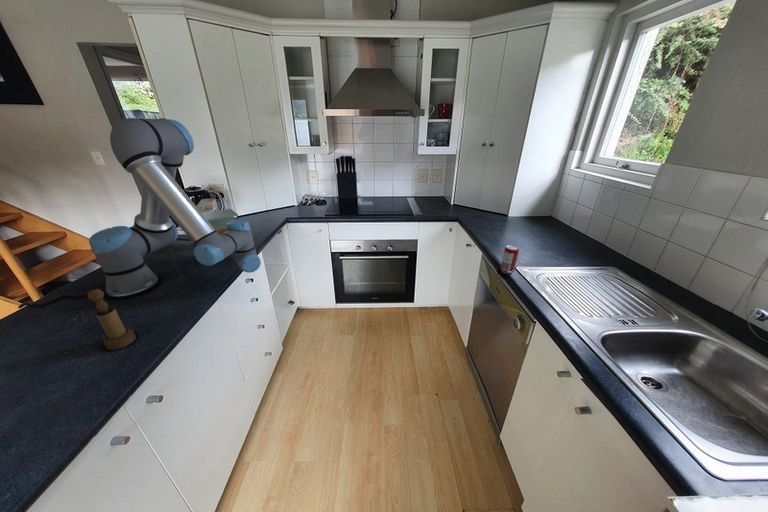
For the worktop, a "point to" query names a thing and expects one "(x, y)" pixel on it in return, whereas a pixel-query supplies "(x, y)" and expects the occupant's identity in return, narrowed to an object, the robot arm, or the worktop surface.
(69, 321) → the worktop surface
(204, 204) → the coffeecake box
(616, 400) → the worktop surface
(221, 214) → the pale green box
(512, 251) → the soda can
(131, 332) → the brown tall wooden piece
